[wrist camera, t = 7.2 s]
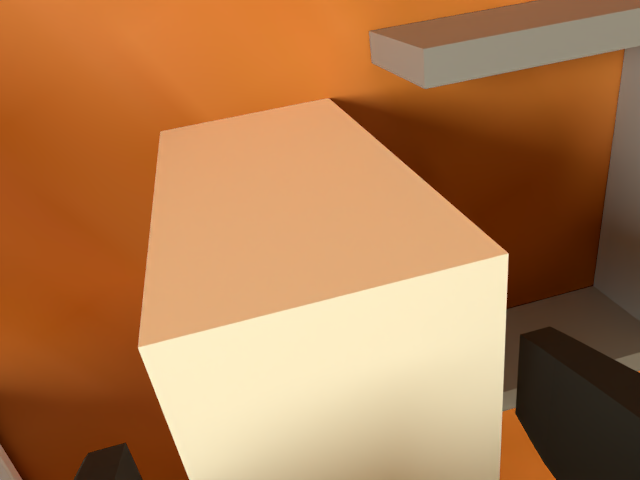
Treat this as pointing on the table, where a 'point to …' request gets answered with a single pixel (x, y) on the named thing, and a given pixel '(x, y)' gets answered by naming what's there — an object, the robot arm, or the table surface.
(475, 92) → the table surface
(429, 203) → the tan block
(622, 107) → the shelf bay
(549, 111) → the table surface
